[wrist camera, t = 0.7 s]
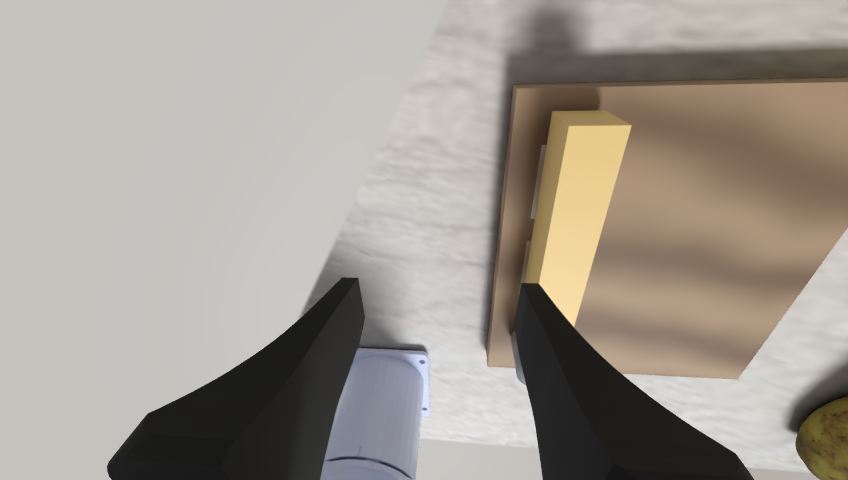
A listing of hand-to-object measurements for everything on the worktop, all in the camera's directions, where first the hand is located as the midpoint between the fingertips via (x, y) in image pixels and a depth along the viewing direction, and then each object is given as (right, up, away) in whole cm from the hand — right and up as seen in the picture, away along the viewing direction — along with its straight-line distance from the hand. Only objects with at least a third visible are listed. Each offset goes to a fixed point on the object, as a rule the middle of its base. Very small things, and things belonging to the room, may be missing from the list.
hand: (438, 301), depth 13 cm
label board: (+14, +1, +10) cm, 17 cm away
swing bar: (+7, +1, +9) cm, 11 cm away
